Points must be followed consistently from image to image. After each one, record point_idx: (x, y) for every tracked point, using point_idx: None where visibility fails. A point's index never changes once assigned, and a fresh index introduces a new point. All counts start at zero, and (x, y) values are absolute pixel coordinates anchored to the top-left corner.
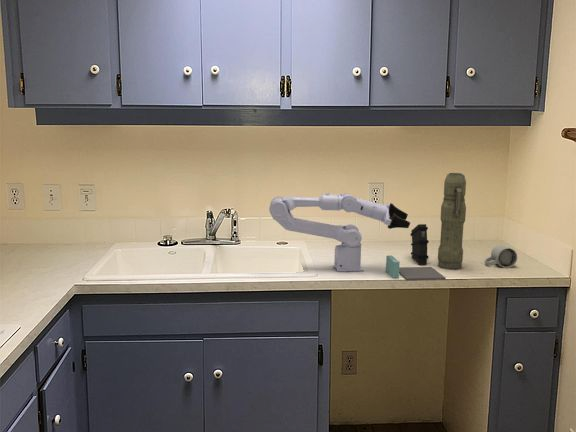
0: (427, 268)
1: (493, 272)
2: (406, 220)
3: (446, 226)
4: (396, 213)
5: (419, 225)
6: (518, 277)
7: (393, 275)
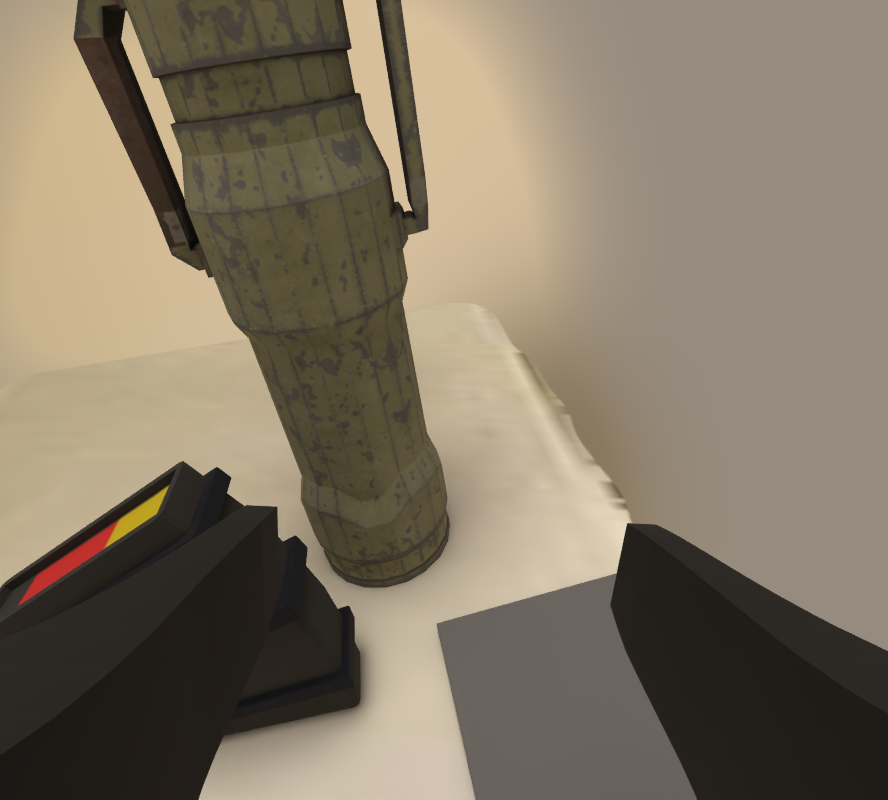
0: (484, 649)
1: (466, 404)
2: (666, 551)
3: (379, 344)
4: (172, 731)
5: (175, 516)
6: (514, 359)
7: None
